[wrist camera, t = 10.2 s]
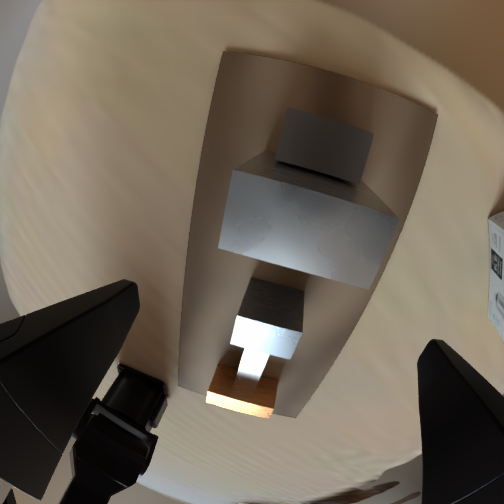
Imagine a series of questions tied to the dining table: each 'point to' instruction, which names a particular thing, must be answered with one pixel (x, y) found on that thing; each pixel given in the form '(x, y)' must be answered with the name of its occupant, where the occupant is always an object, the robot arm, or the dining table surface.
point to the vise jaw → (259, 347)
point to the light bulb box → (496, 272)
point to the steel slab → (306, 221)
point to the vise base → (232, 271)
